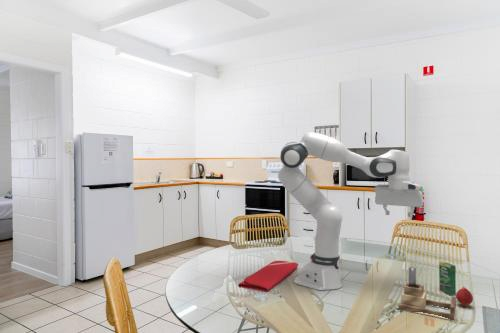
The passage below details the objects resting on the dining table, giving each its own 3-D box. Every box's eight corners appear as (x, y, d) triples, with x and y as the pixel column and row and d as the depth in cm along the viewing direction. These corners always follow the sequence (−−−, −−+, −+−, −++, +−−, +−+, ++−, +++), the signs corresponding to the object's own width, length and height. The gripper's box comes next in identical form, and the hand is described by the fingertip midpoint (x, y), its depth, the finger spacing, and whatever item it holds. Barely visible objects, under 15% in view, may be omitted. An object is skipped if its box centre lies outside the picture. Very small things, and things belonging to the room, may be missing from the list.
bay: (398, 309, 142) (398, 296, 142) (403, 299, 152) (403, 287, 152) (454, 321, 131) (454, 307, 131) (455, 309, 141) (455, 297, 141)
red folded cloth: (237, 287, 167) (237, 279, 167) (273, 265, 203) (273, 258, 203) (268, 293, 160) (268, 285, 160) (299, 269, 196) (299, 262, 196)
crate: (401, 306, 143) (401, 286, 143) (404, 300, 150) (404, 281, 149) (423, 311, 139) (423, 290, 138) (426, 304, 145) (426, 284, 145)
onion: (466, 303, 148) (467, 284, 148) (476, 309, 142) (476, 289, 142) (453, 303, 148) (453, 284, 148) (461, 309, 142) (462, 289, 142)
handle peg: (408, 293, 144) (408, 268, 144) (409, 291, 146) (409, 266, 146) (415, 294, 143) (415, 269, 142) (416, 292, 145) (416, 268, 145)
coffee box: (438, 289, 164) (438, 260, 164) (444, 289, 165) (444, 260, 165) (449, 295, 156) (450, 265, 156) (456, 295, 157) (456, 265, 157)
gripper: (373, 184, 165) (373, 214, 165) (422, 186, 154) (422, 218, 154) (376, 184, 170) (376, 213, 170) (424, 185, 159) (423, 216, 159)
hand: (398, 215), depth 162 cm, fingers open, 8 cm apart
